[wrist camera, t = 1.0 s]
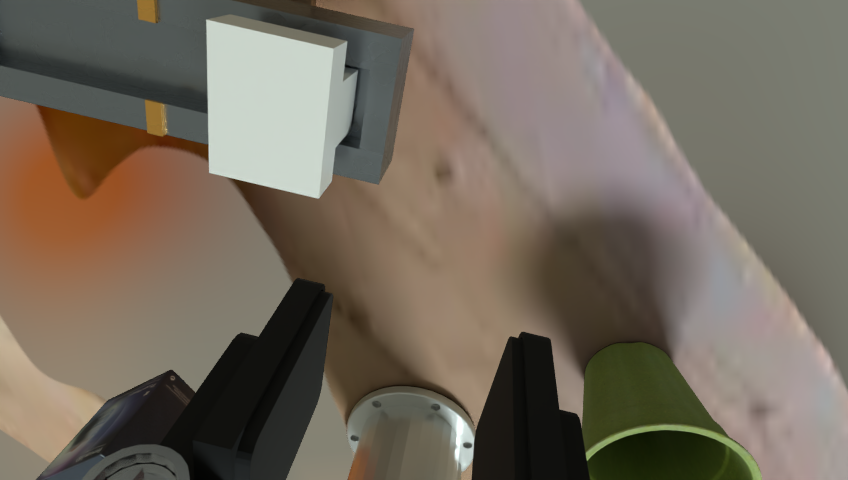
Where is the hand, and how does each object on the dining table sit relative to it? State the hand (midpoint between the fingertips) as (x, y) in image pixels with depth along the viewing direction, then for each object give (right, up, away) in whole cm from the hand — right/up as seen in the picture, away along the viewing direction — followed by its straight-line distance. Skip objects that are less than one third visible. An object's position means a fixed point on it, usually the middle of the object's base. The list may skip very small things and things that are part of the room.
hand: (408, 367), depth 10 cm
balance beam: (-11, +16, +24) cm, 31 cm away
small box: (-27, -14, +44) cm, 53 cm away
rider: (-6, +10, +15) cm, 19 cm away
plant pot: (+18, -8, +34) cm, 39 cm away
